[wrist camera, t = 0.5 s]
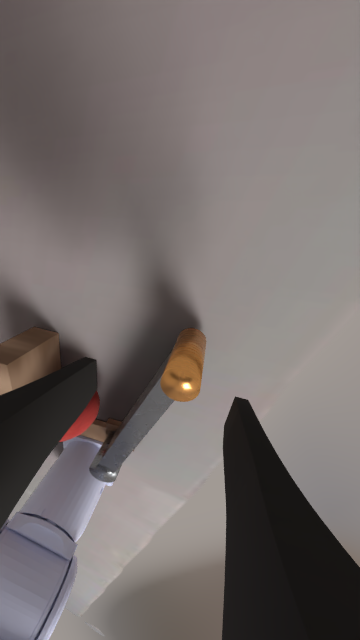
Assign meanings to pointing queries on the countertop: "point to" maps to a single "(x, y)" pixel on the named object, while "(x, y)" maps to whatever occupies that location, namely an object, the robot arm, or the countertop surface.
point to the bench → (39, 368)
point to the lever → (154, 403)
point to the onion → (84, 419)
